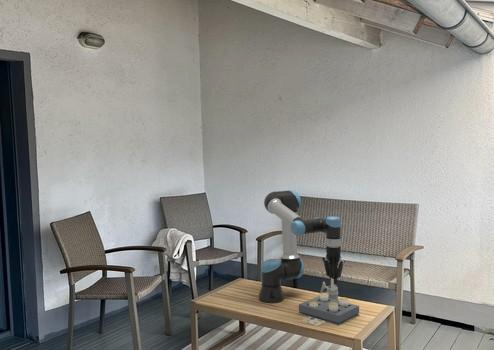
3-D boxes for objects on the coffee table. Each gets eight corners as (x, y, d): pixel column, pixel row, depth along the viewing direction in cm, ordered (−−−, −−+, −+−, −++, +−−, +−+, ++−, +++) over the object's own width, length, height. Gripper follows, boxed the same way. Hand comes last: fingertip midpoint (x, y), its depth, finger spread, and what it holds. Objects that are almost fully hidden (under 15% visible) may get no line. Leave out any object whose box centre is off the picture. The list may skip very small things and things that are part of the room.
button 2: (318, 302, 273) (318, 293, 273) (323, 300, 277) (323, 291, 276) (325, 304, 270) (325, 295, 269) (330, 302, 273) (330, 293, 273)
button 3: (327, 313, 257) (327, 303, 257) (332, 310, 260) (332, 301, 260) (334, 315, 254) (334, 305, 253) (339, 312, 257) (339, 303, 257)
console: (298, 313, 267) (298, 304, 267) (319, 304, 281) (319, 295, 281) (338, 325, 249) (338, 315, 249) (359, 314, 263) (359, 305, 263)
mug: (334, 307, 276) (334, 286, 275) (317, 302, 284) (316, 282, 283) (341, 303, 282) (341, 283, 281) (324, 299, 290) (324, 279, 289)
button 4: (337, 308, 264) (337, 298, 264) (342, 306, 268) (342, 296, 267) (345, 310, 261) (345, 300, 260) (350, 308, 264) (350, 298, 264)
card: (302, 321, 255) (302, 320, 255) (310, 317, 260) (310, 316, 260) (317, 326, 248) (317, 324, 248) (325, 322, 253) (325, 321, 253)
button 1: (307, 312, 266) (307, 302, 266) (312, 309, 270) (312, 300, 269) (314, 314, 263) (314, 304, 262) (319, 311, 266) (319, 302, 266)
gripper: (319, 245, 256) (319, 289, 258) (339, 249, 247) (340, 294, 249) (327, 243, 262) (327, 286, 263) (348, 246, 252) (348, 290, 254)
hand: (333, 289), depth 256 cm, fingers closed
